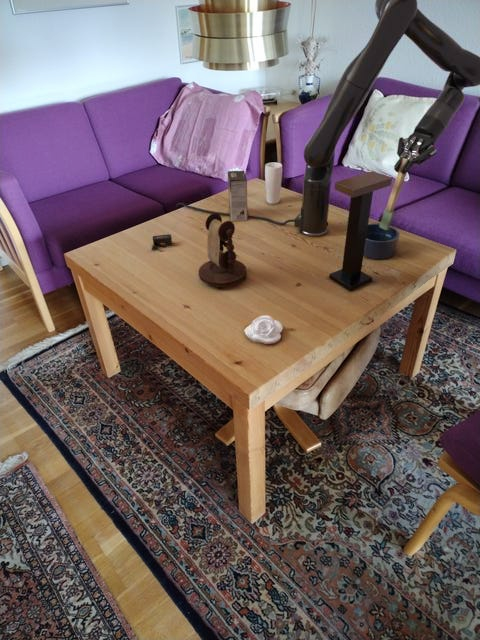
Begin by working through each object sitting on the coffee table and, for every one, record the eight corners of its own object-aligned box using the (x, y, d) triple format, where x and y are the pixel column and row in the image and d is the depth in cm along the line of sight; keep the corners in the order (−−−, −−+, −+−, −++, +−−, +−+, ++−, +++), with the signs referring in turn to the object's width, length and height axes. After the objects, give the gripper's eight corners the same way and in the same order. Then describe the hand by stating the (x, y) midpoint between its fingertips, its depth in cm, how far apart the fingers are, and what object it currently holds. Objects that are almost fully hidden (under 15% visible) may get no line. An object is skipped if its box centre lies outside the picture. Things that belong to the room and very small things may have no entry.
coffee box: (228, 211, 185) (227, 170, 175) (245, 210, 185) (244, 169, 176) (230, 221, 178) (229, 179, 168) (247, 220, 178) (247, 178, 168)
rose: (272, 305, 126) (290, 325, 119) (272, 318, 128) (289, 338, 121) (238, 315, 123) (255, 336, 115) (238, 329, 125) (255, 350, 118)
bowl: (353, 257, 154) (355, 239, 150) (357, 239, 164) (359, 221, 160) (395, 262, 151) (399, 244, 147) (396, 243, 161) (399, 225, 157)
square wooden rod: (404, 157, 144) (400, 157, 143) (412, 160, 142) (409, 160, 141) (381, 226, 154) (377, 226, 153) (388, 230, 152) (385, 230, 151)
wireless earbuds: (151, 244, 164) (150, 236, 162) (171, 242, 165) (170, 234, 163) (152, 251, 161) (150, 242, 159) (172, 248, 162) (171, 240, 160)
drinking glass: (280, 205, 188) (281, 168, 179) (263, 204, 189) (263, 167, 180) (282, 199, 193) (283, 162, 184) (266, 198, 195) (266, 161, 186)
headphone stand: (356, 266, 149) (370, 169, 131) (377, 279, 143) (395, 179, 125) (322, 280, 143) (332, 181, 125) (343, 294, 137) (356, 191, 118)
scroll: (190, 275, 148) (184, 215, 136) (229, 260, 154) (226, 202, 142) (216, 296, 138) (212, 234, 126) (256, 279, 145) (256, 219, 133)
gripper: (411, 109, 143) (377, 159, 145) (450, 119, 134) (413, 171, 136) (419, 125, 148) (386, 172, 150) (457, 135, 139) (421, 185, 141)
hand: (399, 171), depth 143 cm, fingers closed on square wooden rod, 2 cm apart
